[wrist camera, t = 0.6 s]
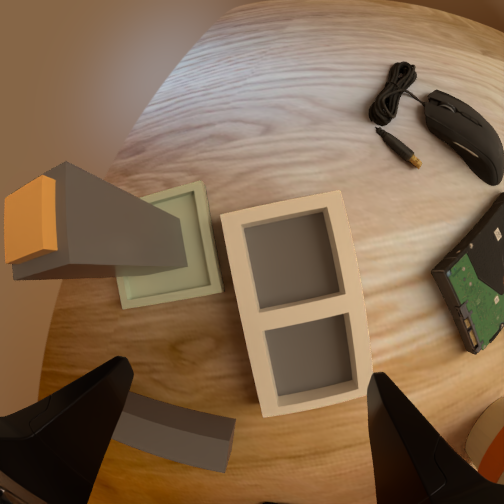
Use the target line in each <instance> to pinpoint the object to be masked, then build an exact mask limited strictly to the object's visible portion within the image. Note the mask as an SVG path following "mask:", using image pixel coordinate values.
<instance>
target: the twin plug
mask: <svg viewBox="0 0 504 504" xmlns="http://www.w3.org/2000/svg"><path fill="white" fill-rule="evenodd" d="M235 422H236V419H233V418H228V417H222V416H217V415H212V414H208V413H203V412H199V411H195V410H190V409H186V408H183V407H179V406H175V405H171V404H168V403H164V402H161V401H157V400H154V399H151V398H148V397H145V396H142V395H139V394H136V393H133V392H130V391H129V393H128V396H127V399H126V403H125V406H124V408H123V411H122V413H121V416H120V418H119V421H118V423H117V425H116V428H115V430H114V433H113V435H112V439H114V440H117V441H119V442H121V443H124V444H126V445H129V446H131V447H134V448H137V449H139V450H142V451H145V452H148V453H150V454H153V455H156V456H160V457H163V458H166V459H169V460H172V461H176V462H179V463H183V464H187V465H191V466H195V467H199V468H203V469H207V470H212V471H217V472H222V473H225V471H226V467H227V464H228V460H229V457H230V453H231V449H232V443H233V436H234V429H235Z"/></svg>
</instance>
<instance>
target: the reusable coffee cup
mask: <svg viewBox="0 0 504 504" xmlns="http://www.w3.org/2000/svg"><path fill="white" fill-rule="evenodd" d="M465 450H466V453H467V454H468V456H469V457H470V459H471V460H472V462H473V463H474V465H475V467H476V468H477V470H478V473H480V474H481V475H482V476H483V477H484V478H486V479H487V480H489V481H491V482H494V483H497V484H503V485H504V397H501V398H499V399H498V400H496V401H495V402H493V403H492V404H491V405H490V406H489V407H488V408H487V409H486V410H485V411H484V412H483V413H482V415H481V416H480V417H479V419H478V420H477V421H476V423H475V424H474V426H473V428H472V429H471V431H470V433H469V436H468V438H467V441H466V445H465Z"/></svg>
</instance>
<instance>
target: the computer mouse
mask: <svg viewBox="0 0 504 504" xmlns="http://www.w3.org/2000/svg"><path fill="white" fill-rule="evenodd" d="M412 67H413V68H412ZM400 73H402V74H403V76H402V77H400V78H398V76H399V74H400ZM412 76H413V77H412ZM416 77H417V74H416V72H415V65H410V64H409V63H407V62H401V63H399V62H397V63H395V64H394V66H393V67H392V68H391V69H390V72H389V81H388V82H386V85H385V88H384V89H383V90H382V91H381V92H380V94H379V95H378V96H377V98H376V100H375V102H374V103H373V104H372V106H371V107H370V109H369V118H370V120H371V121H372V120H373V121H374V122H375V123H376V124H377V125H381V124H382V125H381V126H386V125H387V124H388V123H390V122H391V120H392V118H395V117H396V114H397V109H398V104H399V100H400V97H401V95H402V93H403V92H406V93H408V94H410V95H411V96H412V97H413V98H415V99H416V100H417V101H419V102H420V103H422V105H423V106H424V107H425V115H426V122H427V126H428V128H429V130H430V131H431V132H432V133H433V134H434V135H436V136H437V137H438V138H439V139H441V140H443V141H444V142H445V143H447V144H448V145H449V146H450V147H451V148H453V149H454V150H455V151H456V152H457V153H458V154H459V155H460V157H461V158H462V159H463V160H464V161H465V162H466V164H467V165H468V166H469V167H470V169H471V170H472V171H473V172H474V173H475V174H476V175H477V176H478V177H479V178H480V179H482V180H483V181H484V182H486V183H488V184H490V185H498V184H499V183H500V182H501V181H502V178H503V175H504V150H503V146H502V143H501V140H500V138H499V136H498V134H497V133H496V131H495V130H494V128H493V127H492V126H491V125H490V124H489V123H488V122H487V121H486V120H485V119H484V118H483V117H482V116H481V115H480V114H479V113H478V112H477V111H475V110H474V109H473V108H472V107H470V106H469V105H468V104H466V103H464V102H463V101H461V100H459V99H457V98H455V97H453V96H451V95H449V94H447V93H444V92H442V91H439V90H435V91H433V92H432V93H430V95H428V97H429V102H430V103H427V102H421V101H420V100H419V99H418V98H417V97H416V96H414V95H413V94H412V93H411V92H409V91H407V90H406V89H407V88H408V87H410V85H411V84H412V83H413V82H414V81H415V80H416ZM387 103H388V108H387V107H386V105H385V104H387ZM383 109H384V110H385V111H386V113H384V111H383ZM375 128H376V130H377V132H376V133H378V134H379V135H380V136H381V137H382V138H383V141H384V142H385V143H386V144H388V145H389V146H390V147H391V148H392V149H393V150H394V151H396V152H397V153H398V154H399V155H400V156H401V157H403V158H404V159H405V160H406V161H410V162H411V163H412V164H413V165H415V166H416V167H417V168H418V169H419V168H420V167H421V165H422V162H421V161H420V160H419V159H418V158H417V157H415V156H414V152H413V151H412V150H411V149H409V148H408V147H407V146H406V145H405V144H403V143H402V142H401V141H400V140H398V139H397V138H395V137H394V136H393V135H391V134H390V133H388V132H386V131H385V130H382V129H381V128H377V127H375Z"/></svg>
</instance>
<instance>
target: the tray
mask: <svg viewBox="0 0 504 504" xmlns="http://www.w3.org/2000/svg"><path fill="white" fill-rule="evenodd" d="M140 199H142V200H144V201H146V202H148V203H150V204H152V205H154V206H156V207H157V208H159V209H161V210H163V211H165V212H167V213H169V214H171V215H173V216H175V217H177V218H179V219H180V223H181V229H182V236H183V241H184V247H185V253H186V258H187V264H188V267H184V268H179V269H174V270H169V271H165V272H160V273H155V274H150V275H145V276H125V277H116V278H117V284H118V289H119V294H120V300H121V305H122V309H128V308H135V307H141V306H147V305H154V304H160V303H166V302H172V301H177V300H183V299H189V298H195V297H200V296H206V295H211V294H217V293H222V292H224V291H225V289H224V284H223V279H222V274H221V269H220V264H219V259H218V254H217V248H216V243H215V238H214V233H213V227H212V222H211V216H210V211H209V205H208V199H207V193H206V188H205V184H204V183H203V182H202V181H201V180H200V181H196V182H193V183H189V184H185V185H182V186H178V187H175V188H171V189H168V190H164V191H161V192H157V193H154V194H151V195H147V196H144V197H141V198H140Z"/></svg>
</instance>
